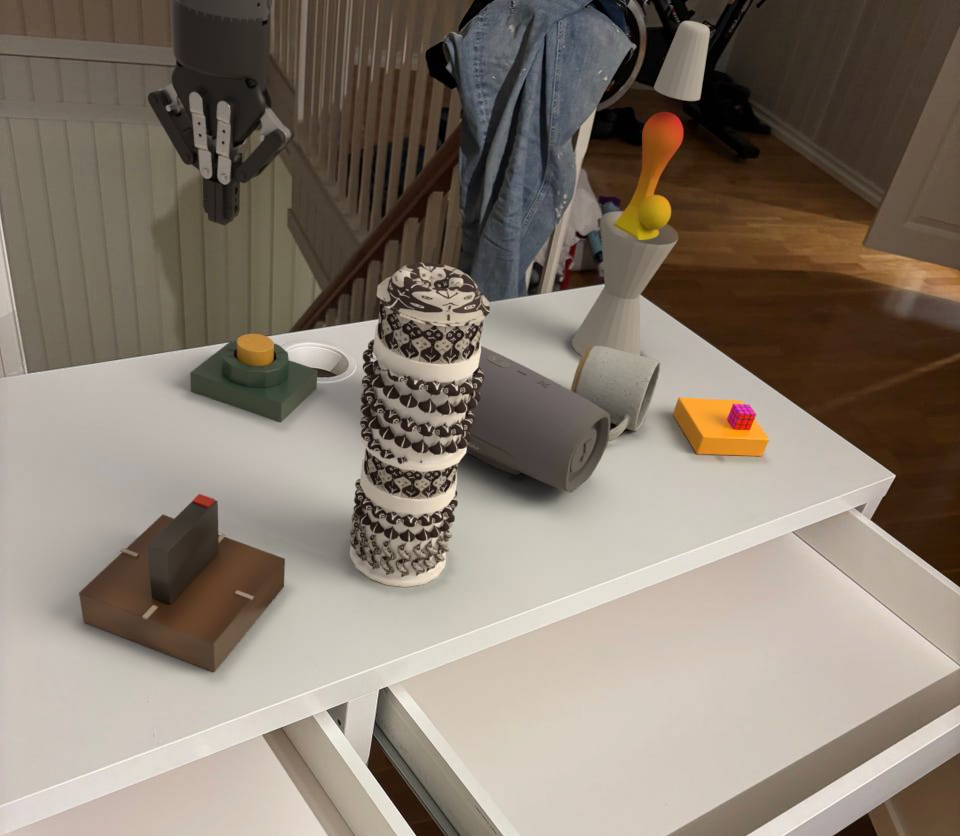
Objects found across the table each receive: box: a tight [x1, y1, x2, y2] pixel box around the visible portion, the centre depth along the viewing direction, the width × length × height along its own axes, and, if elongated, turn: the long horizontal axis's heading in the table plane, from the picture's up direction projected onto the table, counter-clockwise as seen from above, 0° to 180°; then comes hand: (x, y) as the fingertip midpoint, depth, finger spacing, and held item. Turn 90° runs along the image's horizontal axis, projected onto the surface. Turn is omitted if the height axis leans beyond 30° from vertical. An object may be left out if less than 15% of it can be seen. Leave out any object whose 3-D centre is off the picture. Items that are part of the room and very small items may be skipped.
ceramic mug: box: [570, 346, 661, 443], centre depth 104 cm, size 11×8×8 cm
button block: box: [189, 340, 318, 423], centre depth 99 cm, size 10×8×4 cm
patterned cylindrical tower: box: [349, 261, 491, 588], centre depth 76 cm, size 9×9×25 cm
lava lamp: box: [571, 20, 711, 357], centre depth 108 cm, size 9×9×35 cm
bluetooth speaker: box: [466, 345, 612, 494], centre depth 96 cm, size 23×9×10 cm, turn 56°
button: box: [236, 333, 275, 366], centre depth 97 cm, size 4×4×2 cm
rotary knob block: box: [78, 514, 286, 673], centre depth 75 cm, size 11×11×3 cm
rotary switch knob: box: [147, 493, 220, 604], centre depth 72 cm, size 7×2×5 cm, turn 161°
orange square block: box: [672, 397, 770, 457], centre depth 108 cm, size 8×8×4 cm
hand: (221, 220), depth 88 cm, fingers closed
